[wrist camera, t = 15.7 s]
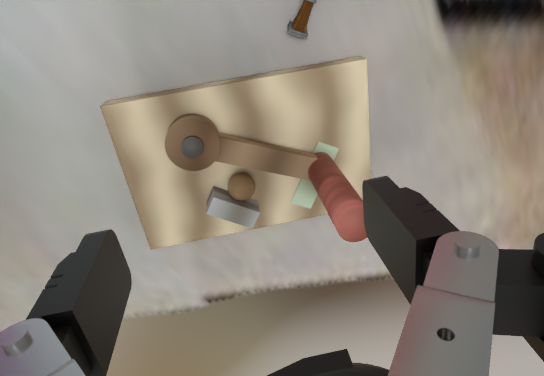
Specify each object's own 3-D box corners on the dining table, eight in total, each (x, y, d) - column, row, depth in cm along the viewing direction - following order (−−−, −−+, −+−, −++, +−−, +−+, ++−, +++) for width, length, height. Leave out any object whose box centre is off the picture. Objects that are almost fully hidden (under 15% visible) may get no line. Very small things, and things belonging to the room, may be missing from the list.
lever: (163, 157, 38) (143, 219, 27) (171, 108, 36) (153, 154, 25) (324, 189, 42) (362, 254, 31) (340, 146, 40) (386, 200, 29)
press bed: (153, 239, 44) (147, 264, 40) (105, 101, 37) (92, 114, 33) (365, 197, 46) (381, 217, 42) (359, 56, 39) (377, 63, 34)
